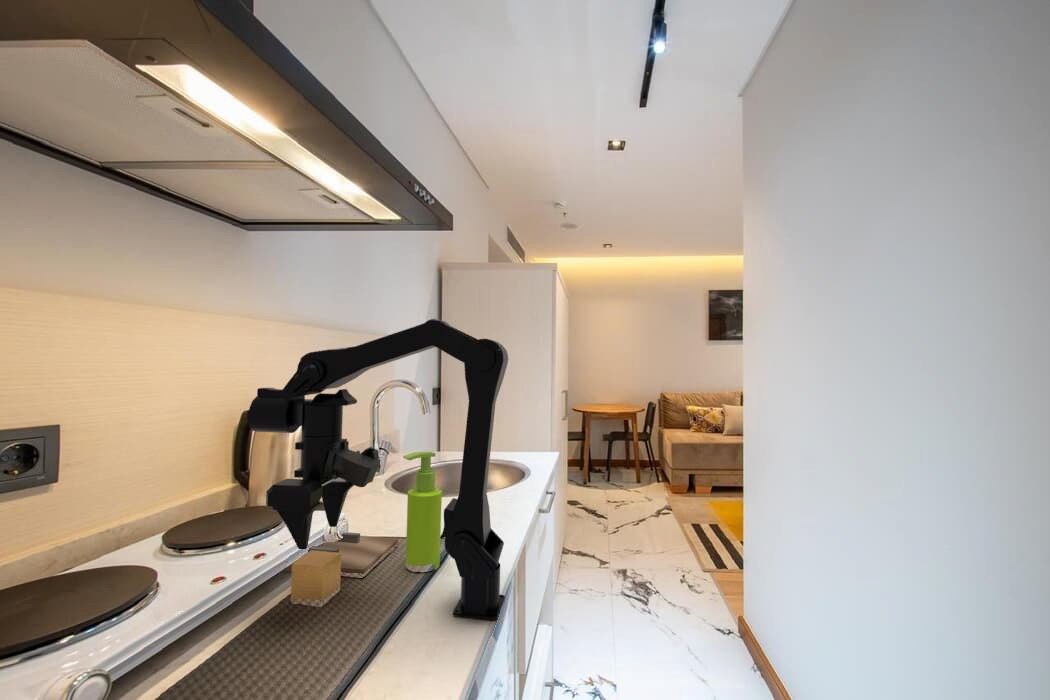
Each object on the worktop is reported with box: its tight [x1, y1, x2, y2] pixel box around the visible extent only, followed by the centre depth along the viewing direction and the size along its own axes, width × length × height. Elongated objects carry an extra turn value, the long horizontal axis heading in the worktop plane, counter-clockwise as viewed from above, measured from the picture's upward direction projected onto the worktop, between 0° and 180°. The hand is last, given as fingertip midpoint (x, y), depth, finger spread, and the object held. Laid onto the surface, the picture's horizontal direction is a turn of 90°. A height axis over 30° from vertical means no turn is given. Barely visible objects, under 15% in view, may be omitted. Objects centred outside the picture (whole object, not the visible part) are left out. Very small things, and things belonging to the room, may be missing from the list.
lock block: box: [290, 550, 342, 600], centre depth 73 cm, size 5×5×6 cm
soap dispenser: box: [403, 451, 443, 571], centre depth 84 cm, size 6×7×20 cm
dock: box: [284, 531, 399, 574], centre depth 87 cm, size 14×14×3 cm
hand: (318, 537), depth 73 cm, fingers open, 9 cm apart
